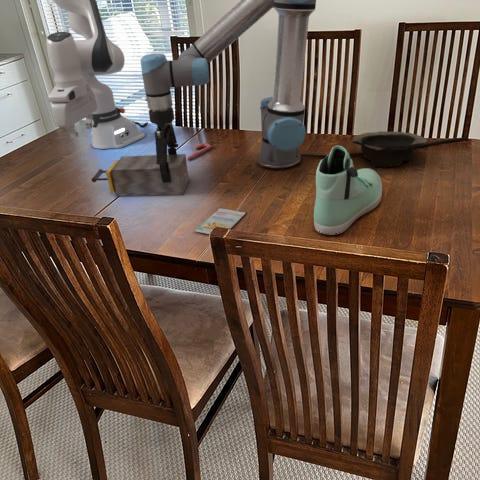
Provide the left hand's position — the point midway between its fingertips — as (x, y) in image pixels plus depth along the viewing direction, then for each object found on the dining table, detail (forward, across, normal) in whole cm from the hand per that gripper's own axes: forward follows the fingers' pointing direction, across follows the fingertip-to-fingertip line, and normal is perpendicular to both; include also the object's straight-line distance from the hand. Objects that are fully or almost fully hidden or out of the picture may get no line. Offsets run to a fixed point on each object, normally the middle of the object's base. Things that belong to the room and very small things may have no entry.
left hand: (82, 133), depth 155 cm
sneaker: (+19, +8, +86) cm, 88 cm away
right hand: (+14, -1, +28) cm, 31 cm away
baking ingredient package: (+20, +20, +50) cm, 58 cm away
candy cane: (+19, -32, +27) cm, 46 cm away
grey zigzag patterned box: (+19, -1, +22) cm, 29 cm away
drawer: (+18, 0, +16) cm, 24 cm away
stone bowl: (+19, -31, +97) cm, 104 cm away
